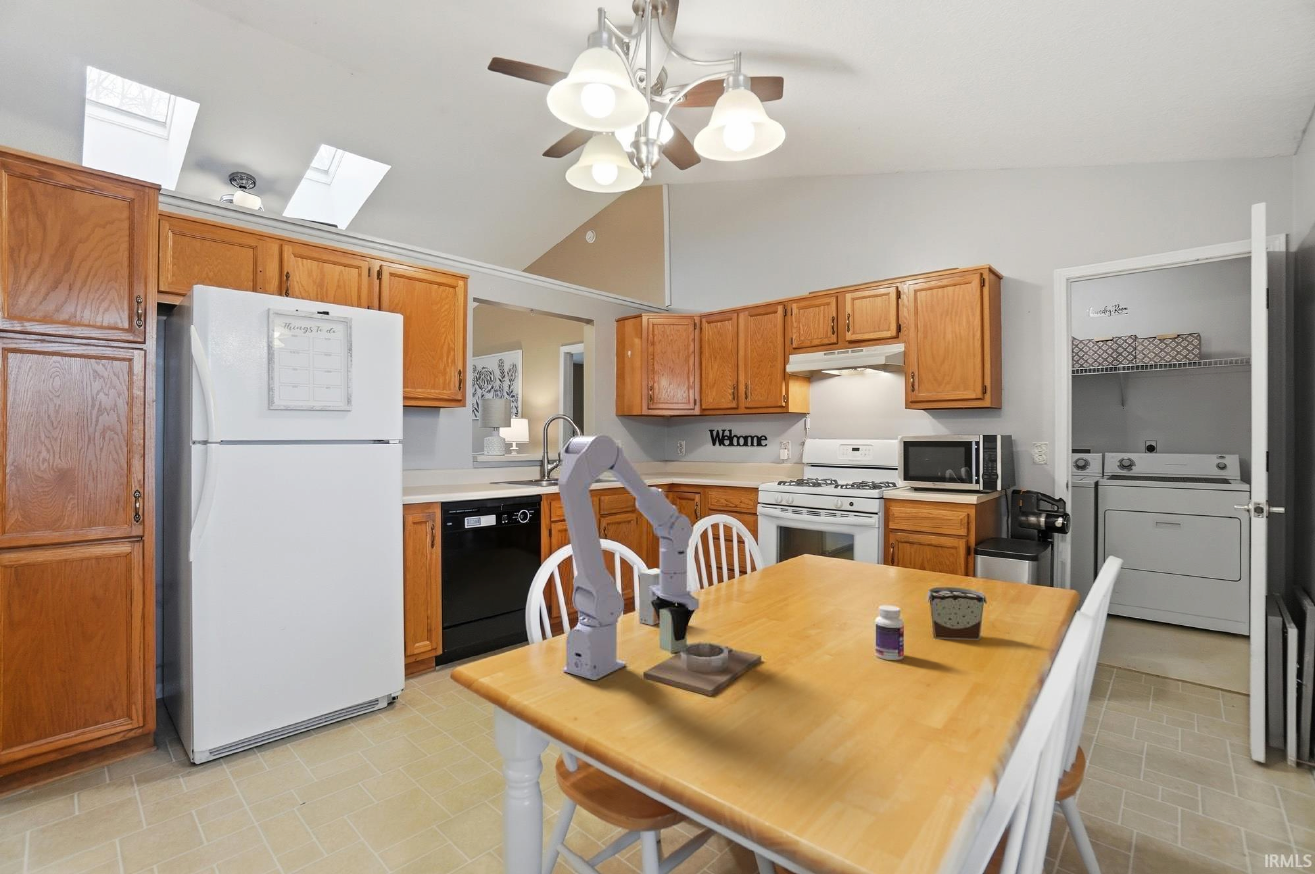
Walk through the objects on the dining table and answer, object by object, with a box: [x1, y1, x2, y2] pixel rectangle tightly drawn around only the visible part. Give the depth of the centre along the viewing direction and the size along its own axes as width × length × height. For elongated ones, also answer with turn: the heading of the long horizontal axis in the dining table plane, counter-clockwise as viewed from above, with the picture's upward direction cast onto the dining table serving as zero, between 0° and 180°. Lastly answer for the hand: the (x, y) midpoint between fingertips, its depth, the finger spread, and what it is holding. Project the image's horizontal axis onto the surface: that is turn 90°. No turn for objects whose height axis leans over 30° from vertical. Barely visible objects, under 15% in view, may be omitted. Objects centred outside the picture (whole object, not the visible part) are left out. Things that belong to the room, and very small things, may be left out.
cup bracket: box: [642, 641, 762, 697], centre depth 115 cm, size 20×14×4 cm
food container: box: [926, 586, 987, 641], centre depth 135 cm, size 12×6×10 cm, turn 84°
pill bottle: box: [874, 604, 905, 661], centre depth 122 cm, size 5×5×10 cm
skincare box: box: [638, 567, 660, 626], centre depth 145 cm, size 6×4×12 cm
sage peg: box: [659, 608, 688, 654], centre depth 126 cm, size 4×4×8 cm
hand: (673, 636), depth 126 cm, fingers closed on sage peg, 4 cm apart
